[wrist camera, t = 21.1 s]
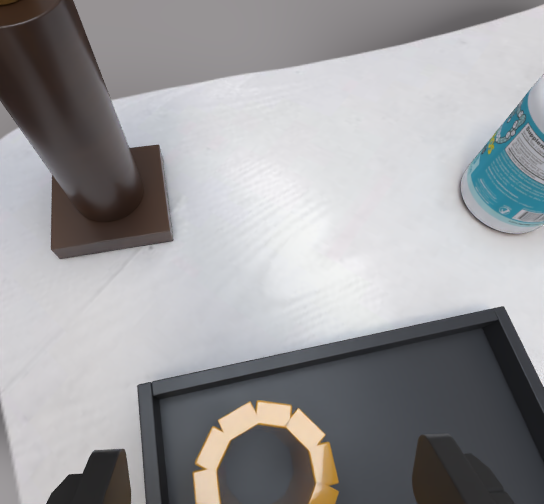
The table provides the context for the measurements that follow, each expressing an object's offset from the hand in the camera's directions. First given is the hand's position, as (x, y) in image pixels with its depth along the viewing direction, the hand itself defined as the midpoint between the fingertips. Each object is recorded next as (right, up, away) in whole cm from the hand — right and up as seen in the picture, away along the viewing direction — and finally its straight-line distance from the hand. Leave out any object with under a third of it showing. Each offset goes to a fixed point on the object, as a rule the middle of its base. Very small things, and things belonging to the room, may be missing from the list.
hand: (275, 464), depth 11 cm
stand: (-12, +9, +20) cm, 25 cm away
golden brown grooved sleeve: (-1, -7, +12) cm, 14 cm away
